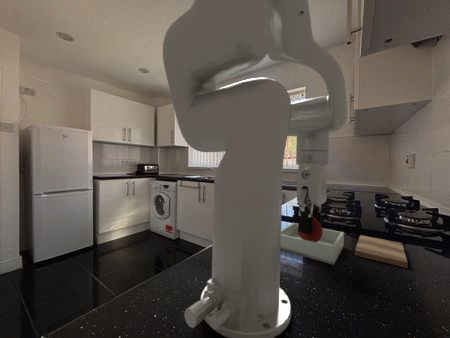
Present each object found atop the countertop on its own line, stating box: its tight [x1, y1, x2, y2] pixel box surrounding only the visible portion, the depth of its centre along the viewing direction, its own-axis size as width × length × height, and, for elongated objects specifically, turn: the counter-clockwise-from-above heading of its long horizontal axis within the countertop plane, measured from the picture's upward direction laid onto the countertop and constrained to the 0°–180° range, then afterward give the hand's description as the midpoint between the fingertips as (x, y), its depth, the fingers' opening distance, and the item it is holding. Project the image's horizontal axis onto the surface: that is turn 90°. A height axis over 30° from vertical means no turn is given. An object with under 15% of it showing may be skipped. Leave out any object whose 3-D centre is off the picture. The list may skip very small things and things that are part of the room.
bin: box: [280, 222, 345, 266], centre depth 50 cm, size 13×13×4 cm
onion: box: [297, 216, 323, 242], centre depth 50 cm, size 6×6×8 cm
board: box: [354, 234, 408, 269], centre depth 49 cm, size 14×9×1 cm, turn 142°
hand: (310, 228), depth 50 cm, fingers open, 6 cm apart
